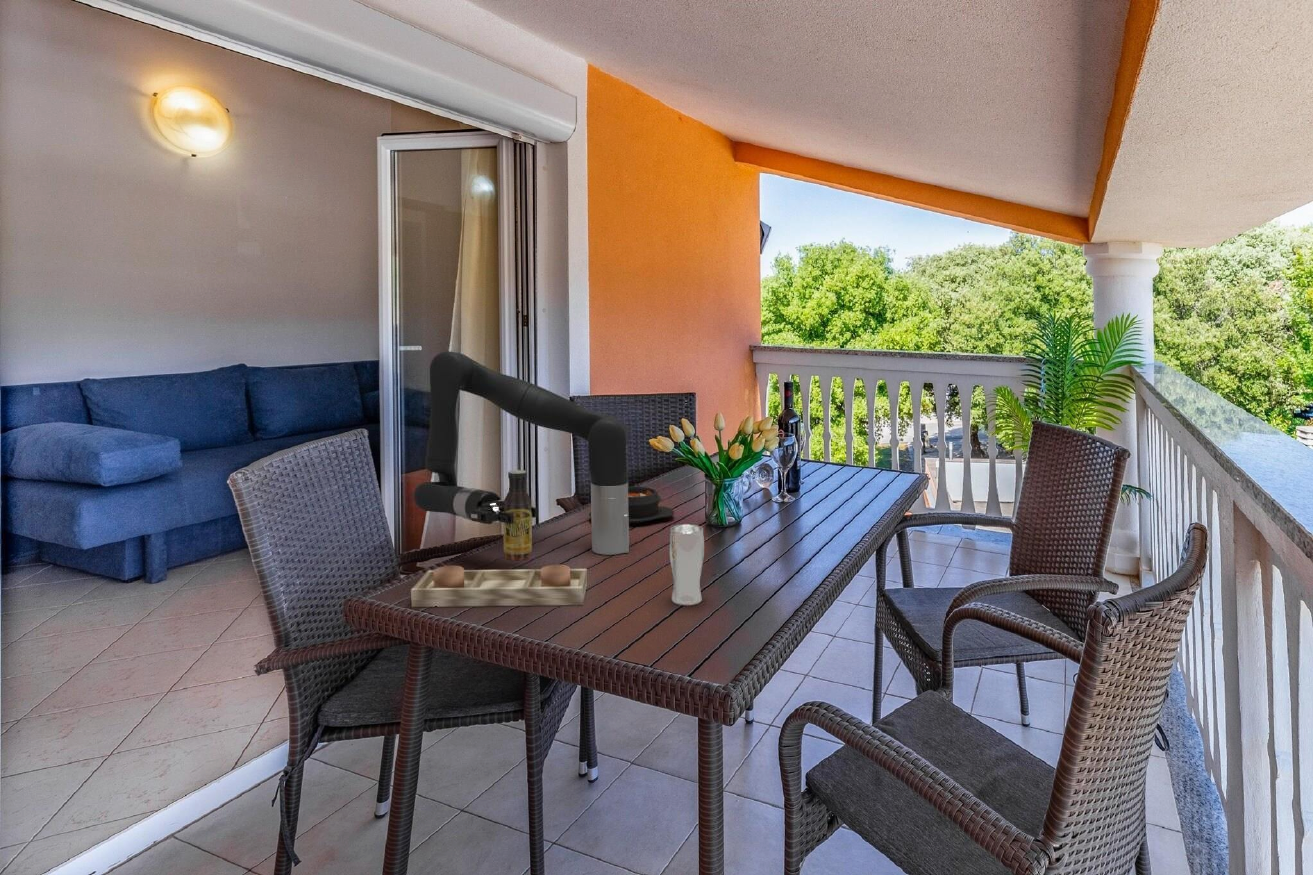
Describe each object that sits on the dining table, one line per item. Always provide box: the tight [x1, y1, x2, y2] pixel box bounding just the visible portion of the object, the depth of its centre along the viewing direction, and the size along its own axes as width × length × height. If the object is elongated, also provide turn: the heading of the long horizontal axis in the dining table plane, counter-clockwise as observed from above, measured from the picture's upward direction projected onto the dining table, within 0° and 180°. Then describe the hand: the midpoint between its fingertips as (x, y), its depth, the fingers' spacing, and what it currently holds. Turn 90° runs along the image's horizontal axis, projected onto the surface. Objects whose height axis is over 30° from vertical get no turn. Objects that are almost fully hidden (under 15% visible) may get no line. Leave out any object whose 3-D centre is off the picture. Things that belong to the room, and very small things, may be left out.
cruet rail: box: [410, 564, 588, 608], centre depth 151 cm, size 34×12×6 cm, turn 91°
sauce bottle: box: [503, 469, 533, 562], centre depth 162 cm, size 6×6×20 cm
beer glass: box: [669, 524, 705, 606], centre depth 147 cm, size 7×7×15 cm
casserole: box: [588, 486, 675, 525], centre depth 211 cm, size 25×19×8 cm
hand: (524, 516), depth 160 cm, fingers closed on sauce bottle, 6 cm apart
